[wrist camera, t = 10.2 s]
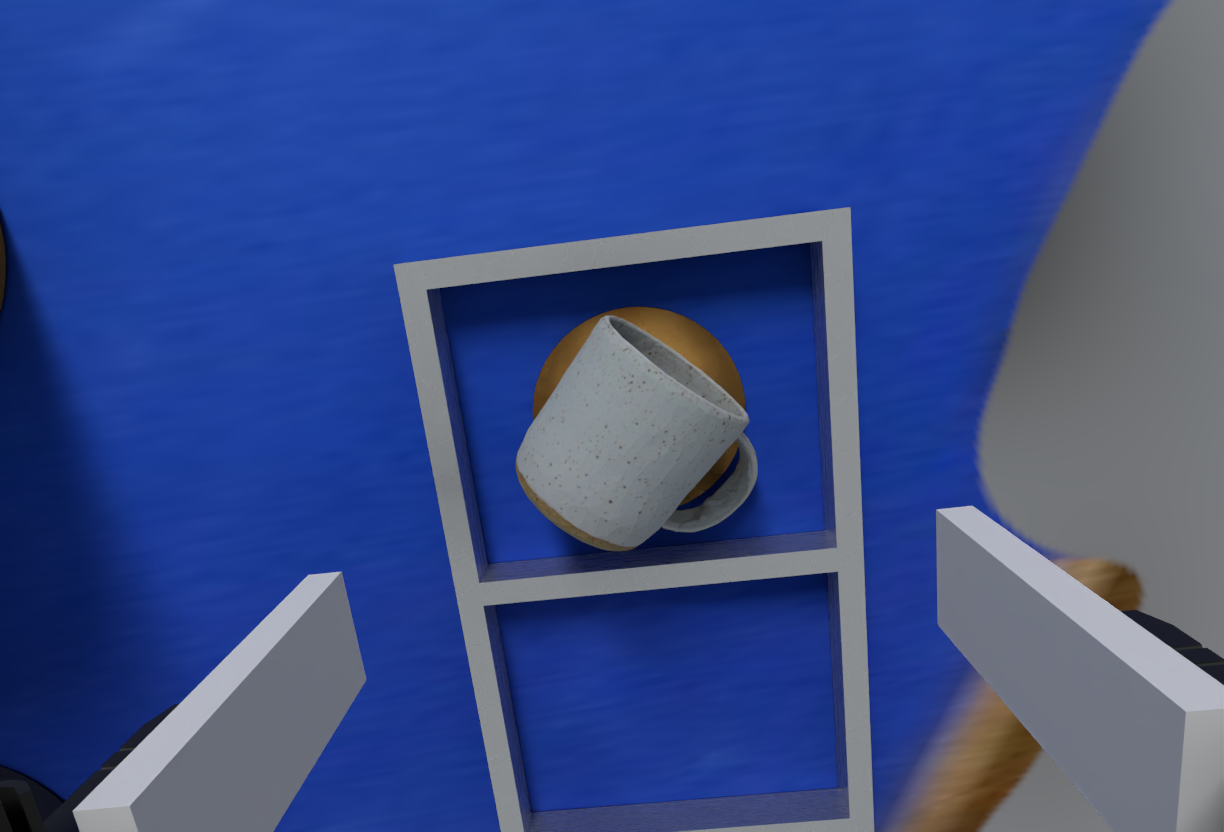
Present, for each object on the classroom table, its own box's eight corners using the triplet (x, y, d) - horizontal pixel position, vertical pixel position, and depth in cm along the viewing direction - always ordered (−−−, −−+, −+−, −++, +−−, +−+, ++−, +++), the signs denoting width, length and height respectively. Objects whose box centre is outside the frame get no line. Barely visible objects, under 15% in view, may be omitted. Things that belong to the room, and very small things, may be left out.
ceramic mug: (516, 443, 32) (485, 499, 25) (607, 303, 30) (602, 321, 23) (691, 552, 33) (710, 636, 26) (788, 424, 32) (836, 476, 25)
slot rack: (513, 832, 38) (507, 863, 36) (408, 264, 31) (393, 264, 29) (861, 805, 37) (874, 835, 35) (836, 210, 30) (850, 207, 28)
